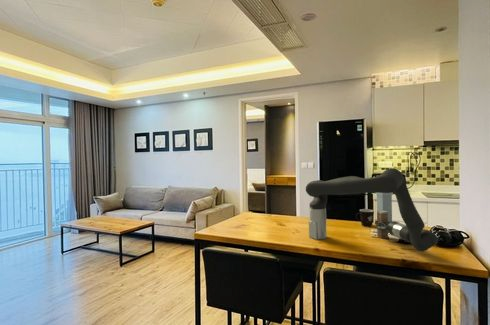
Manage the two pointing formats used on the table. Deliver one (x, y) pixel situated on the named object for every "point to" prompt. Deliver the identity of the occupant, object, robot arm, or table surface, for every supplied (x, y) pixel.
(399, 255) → the table surface
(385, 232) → the rail block
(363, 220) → the coffee mug
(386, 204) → the post
